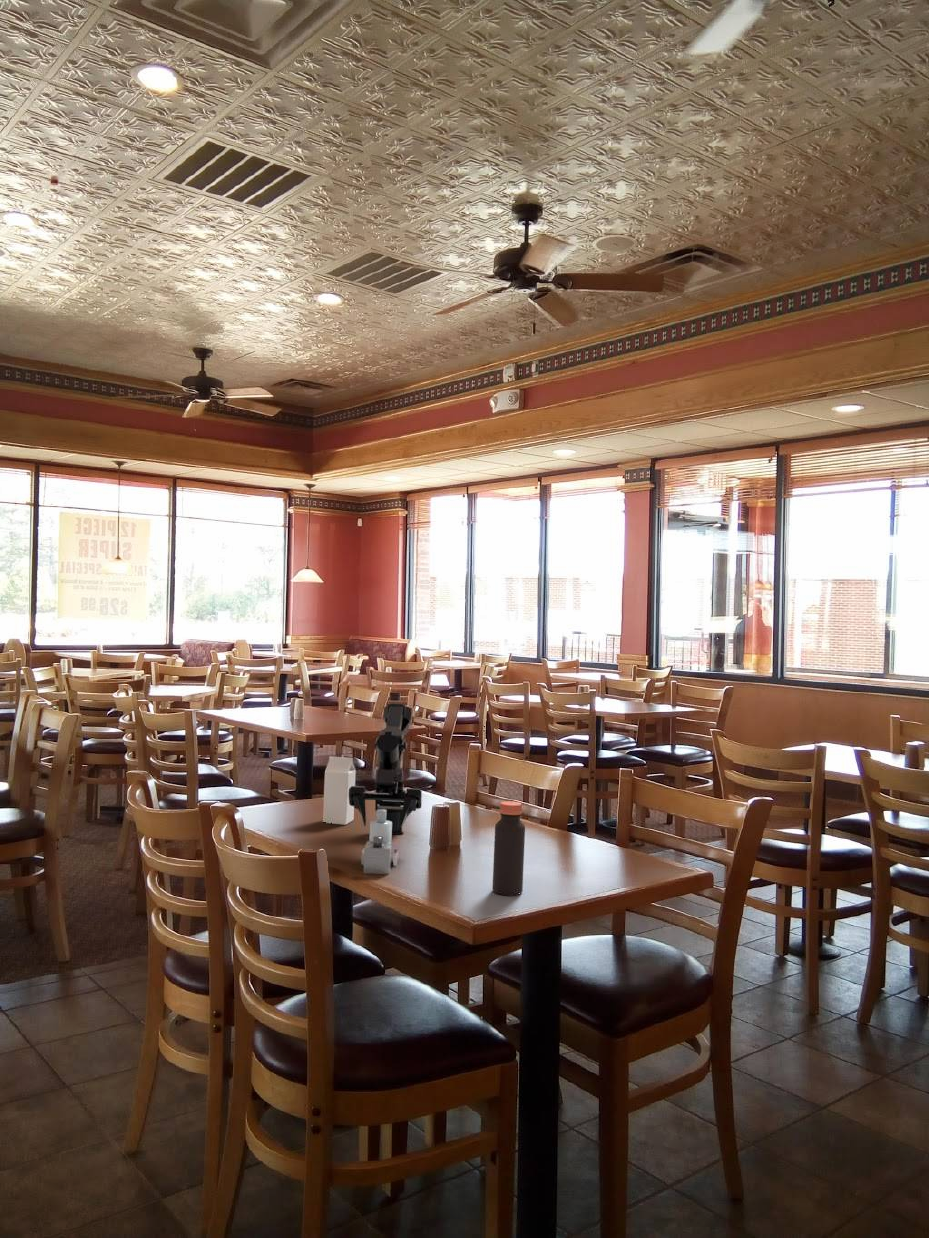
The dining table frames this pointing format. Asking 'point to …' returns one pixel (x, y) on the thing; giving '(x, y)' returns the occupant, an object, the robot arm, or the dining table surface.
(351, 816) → the milk carton
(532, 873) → the dining table surface
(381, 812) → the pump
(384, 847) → the motor
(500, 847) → the bottle
